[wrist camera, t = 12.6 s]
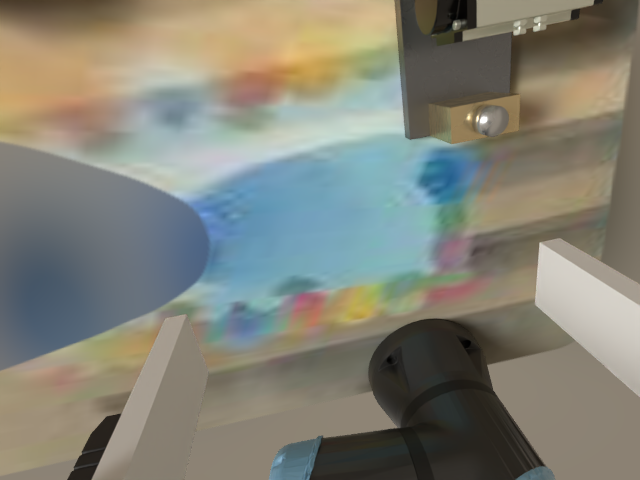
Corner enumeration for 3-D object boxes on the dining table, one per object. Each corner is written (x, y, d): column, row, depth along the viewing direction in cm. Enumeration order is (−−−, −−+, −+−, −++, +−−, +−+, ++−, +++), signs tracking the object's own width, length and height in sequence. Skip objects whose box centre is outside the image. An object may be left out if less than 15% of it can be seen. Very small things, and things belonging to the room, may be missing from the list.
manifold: (500, 118, 39) (552, 128, 31) (405, 137, 38) (435, 151, 31) (506, -153, 30) (580, -226, 23) (384, -131, 30) (419, -198, 23)
